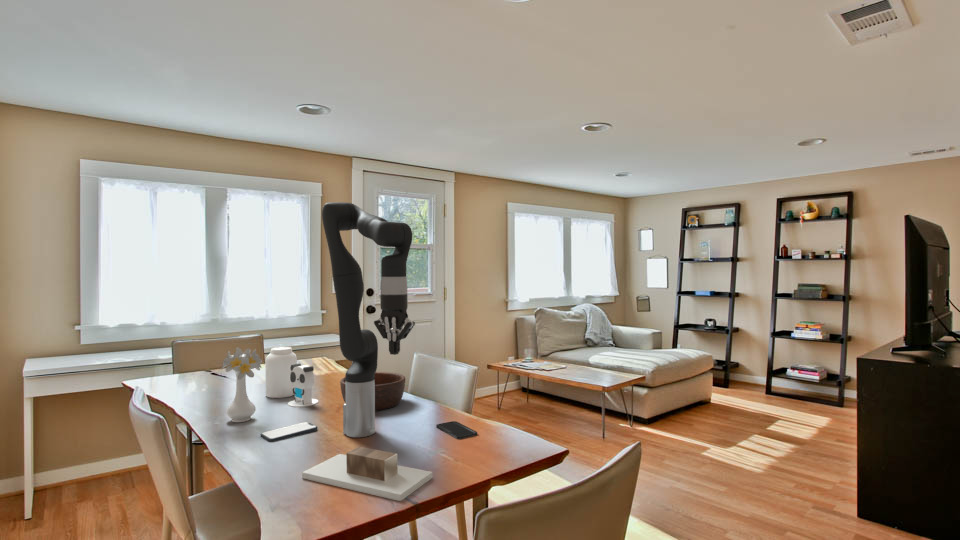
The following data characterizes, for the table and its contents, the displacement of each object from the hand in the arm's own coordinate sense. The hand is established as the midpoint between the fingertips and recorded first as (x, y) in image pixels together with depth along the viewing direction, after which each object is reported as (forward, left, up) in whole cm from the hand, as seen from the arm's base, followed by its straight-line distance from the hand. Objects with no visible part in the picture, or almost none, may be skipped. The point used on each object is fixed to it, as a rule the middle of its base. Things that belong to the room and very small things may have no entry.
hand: (394, 354), depth 141 cm
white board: (+2, -15, -29) cm, 33 cm away
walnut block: (-2, -15, -25) cm, 29 cm away
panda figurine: (-67, +32, -29) cm, 80 cm away
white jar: (-85, +38, -29) cm, 98 cm away
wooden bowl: (-40, +42, -29) cm, 65 cm away
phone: (+5, +27, -30) cm, 40 cm away
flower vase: (-69, +6, -29) cm, 75 cm away
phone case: (-43, +3, -30) cm, 52 cm away
